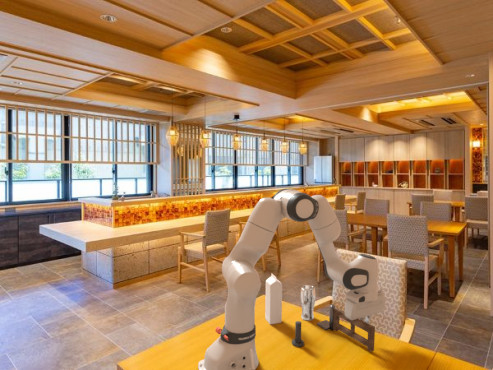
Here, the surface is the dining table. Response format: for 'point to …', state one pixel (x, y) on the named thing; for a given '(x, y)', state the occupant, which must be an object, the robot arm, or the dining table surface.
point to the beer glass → (307, 302)
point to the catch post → (297, 335)
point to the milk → (273, 300)
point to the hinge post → (328, 324)
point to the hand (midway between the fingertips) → (365, 325)
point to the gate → (351, 333)
